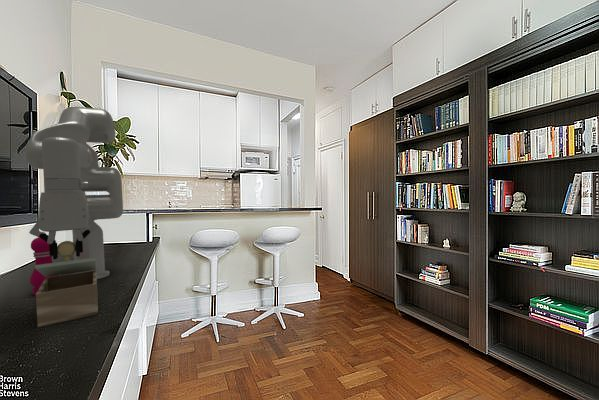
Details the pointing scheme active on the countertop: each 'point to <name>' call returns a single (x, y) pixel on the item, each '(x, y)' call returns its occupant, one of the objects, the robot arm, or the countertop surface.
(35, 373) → the countertop surface
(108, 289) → the countertop surface
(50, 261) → the pepper mill
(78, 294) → the box
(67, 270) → the lid
